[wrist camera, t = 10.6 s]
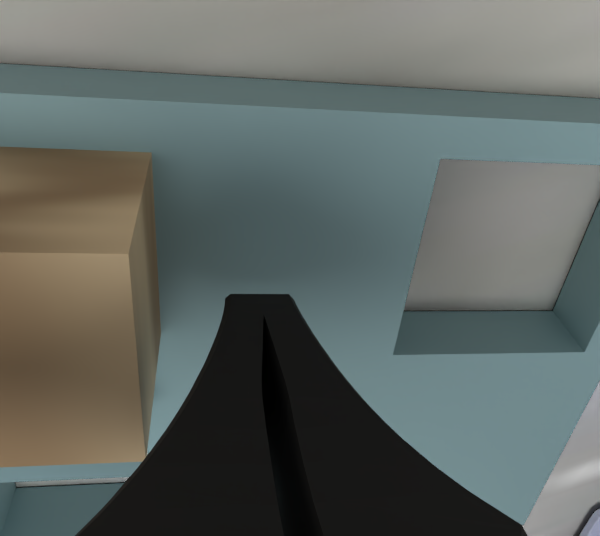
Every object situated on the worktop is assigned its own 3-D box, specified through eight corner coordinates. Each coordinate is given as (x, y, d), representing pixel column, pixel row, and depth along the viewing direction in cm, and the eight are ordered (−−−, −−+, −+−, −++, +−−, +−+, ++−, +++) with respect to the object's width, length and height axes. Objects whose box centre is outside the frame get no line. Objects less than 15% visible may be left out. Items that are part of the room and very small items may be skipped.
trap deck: (675, 103, 15) (843, 186, 11) (502, 480, 24) (561, 604, 20) (-161, 54, 12) (-350, 144, 8) (-9, 506, 21) (-62, 658, 17)
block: (151, 152, 12) (127, 254, 9) (160, 333, 15) (145, 461, 12) (-107, 142, 11) (-237, 249, 8) (-47, 334, 14) (-126, 473, 11)
